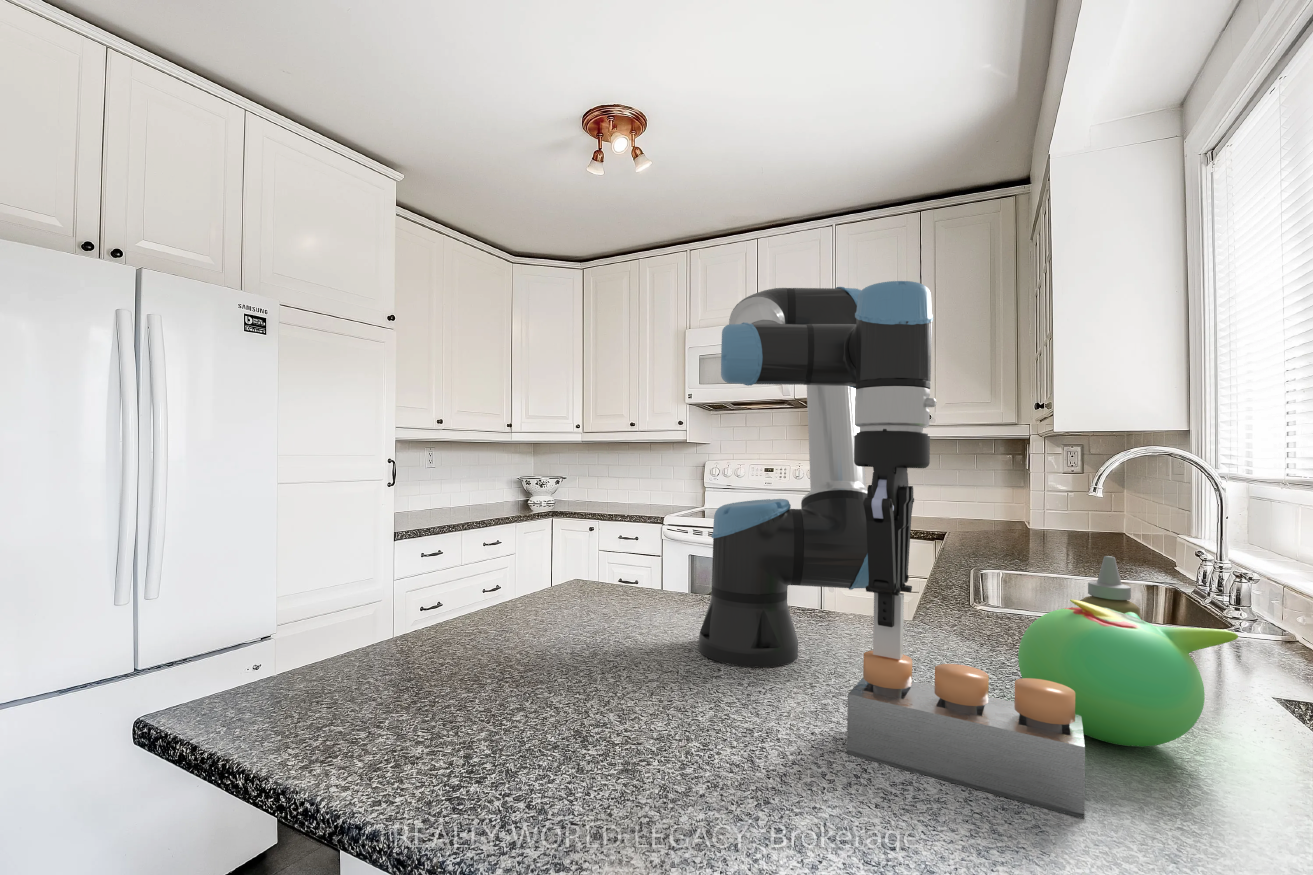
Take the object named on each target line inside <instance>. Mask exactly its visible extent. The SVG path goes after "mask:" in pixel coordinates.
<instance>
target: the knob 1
mask: <svg viewBox="0 0 1313 875" xmlns="http://www.w3.org/2000/svg"><path fill="white" fill-rule="evenodd" d="M862 662H863V667H862V668H863V672H862V673H863V674H862V678H864V680H865V681H867V682H868V683H870V684H873V693H877V694H882V695H886V696H891V697H895V698H900V699H901V690H902V689H904V688H908V687H910V686H912V682H913V659H912V658H911V657H910V656H908V655H906V654H904V653H903V657H902V658H901V659H894V658H889V657H884V656H878V655H873V649H872V650H868V651H865V652H864V653H863V661H862Z"/></svg>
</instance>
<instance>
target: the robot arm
mask: <svg viewBox="0 0 1313 875" xmlns="http://www.w3.org/2000/svg"><path fill="white" fill-rule="evenodd" d="M932 310H933V309H932V293H931V291H930V289H929V287H927V286H926V285H925V284H923V283H920V282H918V281H910V280H892V281H889V280H888V281H883V282H878V283H873V284H870V285H867V286H865V287H864V288H863V289H859V288H855V287H853V288H851V287H844V286H837V287H834V288H832V287H831V288H830V287H828V288H827V287H825V288H824V287H822V288H821V287H777V288H776V287H774V288H770V289H765V290H761V291H758V292H756V293H753V294H750V295H748V296H746V297H745V298H743V299H741V301H739V302H738V303H737V304H736V305H735V306H734V307H733V309H732V311H731V313H730V316H729V321H728V324H727V325H725V326H724V327H723V328H722V330H721V346H720V348H721V350H720V351H721V353H720V356H721V357H720V377H721V379H722V380H723V381H724V382H725V383H727V384H735V385H737V384H739V385H743V386H748V387H749V386H753V385H776V386H777V385H778V386H779V385H784V386H786V385H787V386H788V385H789V386H790V385H792V386H794V385H795V386H798V385H800V386H802V385H803V386H806V404H807V405H806V406H807V408H806V409H807V426H808V427H807V428H808V430H807V431H808V432H807V433H808V453H809V454H808V455H809V458H808V459H809V460H808V461H809V481H810V482H809V483H810V485H809V486H810V490H809V492H807V493H806V494H805V495H804V496H803V497H802V498H801V503H800V507H801V508H791V503H790V500H788V499H786V498H785V499H784V498H773V499H770V498H769V499H768V498H767V499H755V500H746V501H738V502H731V503H727V504H723V505H722V506H719V507H718V508H717V509H716V511H715V512H714V514H713V515H714V516H713V528H712V533H711V538H712V539H713V540H712V562H711V564H712V567H711V594H710V596H711V597H710V601H709V605H708V606H707V607H708V608H707V610H706V614H705V615H704V616H705V617H704V620H703V622H702V624H701V627H700V630H699V633H698V634H699V635H698V651H699V652H700V653H701V654H702V655H703V656H705V657H706V658H708V659H710V660H713V661H715V662H719V663H723V664H726V665H727V664H728V665H733V666H740V667H748V668H749V667H750V668H751V667H752V668H754V667H755V668H766V667H767V668H769V667H779V666H783V665H788V664H790V663H792V662H794V661H796V660H797V658H798V657H799V639H798V636H797V633H796V630H795V629H796V628H795V625H794V621H793V619H792V616H791V613H790V609H789V606H788V605H789V604H788V589H789V586H800V587H821V588H835V589H836V588H837V589H838V588H839V589H848V590H850V591H852V590H855V589H865V592H867V593H873V631H872V632H873V633H872V634H873V635H872V637H873V639H872V641H873V642H872V648H873V649H872V650H873V655H878V656H884V657H889V658H894V659H901V658H902V657H903V654H904V617H905V616H904V615H905V614H904V613H905V612H904V609H905V606H904V605H905V593H912V590H913V586H912V585H907V583H908V581H909V578H910V577H909V563H910V562H909V561H910V559H909V558H910V546H911V531H912V529H911V528H912V514H913V509H914V508H913V506H914V503H915V497H914V486H913V485H909V473H908V469H926V468H928V467H929V465H930V462H931V458H930V455H931V436H930V435H929V433H927V432H924V429H925V428H928V427H929V426H930V412H931V411H930V409H929V408H936V406H937V400H936V398H933V397H931V396H930V395H931V390H930V389H931V374H932V373H931V372H932V335H933V334H932V329H933V328H932V327H933V326H932V325H933V323H932V322H933V321H934V315H933V311H932ZM866 468H872V471H873V472H872V479H871V484H868V485H867V479H866V478H867V477H866ZM901 592H902V593H901Z"/></svg>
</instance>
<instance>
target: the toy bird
mask: <svg viewBox="0 0 1313 875" xmlns="http://www.w3.org/2000/svg"><path fill="white" fill-rule="evenodd" d="M1069 601H1070V602H1071V603H1072V604H1074V605H1075V606H1073V607H1065V608H1058V609H1056V610H1052V611H1050V612H1047V613H1045V614H1043V615H1042V616H1040V617H1038V618H1037V619H1036V620H1034V621H1033V622H1032V623H1031V624H1030V625H1029V626H1028V628H1027V629H1026V630H1025V632H1024V633H1023V636H1022V637H1021V639H1020V641H1019V642H1020V643H1019V646H1018V654H1017V657H1018V658H1017V659H1018V667H1019V672H1020V676H1021V679H1022V678H1033V679H1042V680H1047V681H1052V682H1056V683H1059V684H1062V685H1065V686H1067V687H1069V688H1071V689H1072V690H1074V691H1075V715H1080V716H1081V717H1082V726H1083V734H1084V735H1085V736H1087V737H1090V738H1092V739H1095V740H1099V741H1102V742H1106V743H1109V744H1113V745H1117V746H1118V745H1119V746H1128V747H1139V748H1140V747H1153V746H1158V745H1159V746H1160V745H1163V744H1166V743H1167V744H1168V743H1170V742H1173V741H1175V740H1177V739H1179V738H1181V737H1183V736H1184V735H1185V734H1187V733H1188V732H1190V730H1191V729H1192V728H1193V727H1194V725H1195V724H1196V723H1197V722H1198V720H1199V719H1200V716H1201V714H1202V712H1203V709H1204V705H1205V700H1206V699H1205V698H1206V697H1205V695H1206V694H1205V687H1204V682H1203V681H1204V680H1203V678H1202V675H1201V672H1200V671H1199V668H1198V666H1197V664H1196V662H1195V661H1194V660H1193V658H1192V656H1191V655H1190V653H1192V652H1196V651H1198V650H1204V649H1207V648H1210V647H1212V648H1213V647H1216V646H1220V645H1223V644H1227V643H1230V642H1233V641H1236V640H1237V639H1239V635H1238V634H1237V633H1236V632H1234V631H1231V630H1226V629H1219V628H1205V627H1178V626H1177V627H1176V626H1175V627H1174V626H1173V627H1171V626H1156V625H1153V624H1151V623H1150V622H1147V621H1145V620H1143V619H1142V618H1141V619H1140V618H1139V616H1138V615H1137V614H1135V613H1133V612H1127V613H1125V614H1124V613H1121V612H1117V611H1114V610H1112V609H1109V608H1104V607H1099V606H1096V605H1093V604H1089V603H1086V602H1083V601H1080V600H1078V599H1074V598H1073V599H1072V598H1071V599H1069Z"/></svg>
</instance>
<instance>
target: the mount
mask: <svg viewBox="0 0 1313 875" xmlns="http://www.w3.org/2000/svg"><path fill="white" fill-rule="evenodd" d="M934 691H935V685H933V684H932V685H931V684H926V683H923V682H922V683H921V682H917V681H912V686H910V687H908V688H904V689H902V690H901V699H900V698H895V697H891V696H886V695H882V694H877V693H873V684H870V683H868V682H867V681H865V680H864V678H863V677H862V678H861V679H860V680H859V681H858V682H857V683H856V685H854V686H853V688H852V689H851V690H850V691H849V692H848V693H847V712H846V713H847V714H846V715H847V716H846V717H847V722H846V725H847V726H846V755H850V756H854V757H858V758H861V759H864V760H868V761H872V762H875V763H879V764H884V765H887V766H891V767H893V768H898V769H901V770H904V771H908V772H912V773H916V774H919V775H923V776H926V777H930V778H934V779H937V780H941V781H945V782H949V783H952V784H955V785H959V786H963V787H967V788H971V789H973V790H977V791H980V792H981V791H982V792H985V793H989V794H992V795H996V796H1000V797H1003V798H1007V799H1009V800H1014V801H1017V802H1021V803H1025V804H1028V805H1032V806H1036V807H1039V808H1043V809H1046V810H1047V809H1048V810H1050V811H1055V812H1058V813H1061V814H1065V815H1068V816H1073V817H1076V818H1079V819H1083V820H1085V808H1086V807H1085V803H1086V802H1085V800H1086V799H1085V793H1086V790H1085V789H1086V788H1085V786H1086V785H1085V784H1086V783H1085V782H1086V781H1085V776H1086V775H1085V774H1086V761H1085V760H1086V745H1085V743H1086V742H1085V737H1084V734H1083V726H1082V717H1081V716H1080V715H1075V722H1073V723H1071V724H1062V734H1061V733H1056V732H1051V731H1047V730H1042V729H1038V728H1033V727H1028V726H1027V717H1025V716H1023V715H1021V714H1020V713H1018V712H1017V711H1016V710H1015V708H1014V704H1015V701H1010V700H1005V699H1000V698H995V697H990V696H988V703H987V704H986V705H982V706H977V715H973V714H969V713H964V712H960V711H955V710H950V709H946V708H945V700H943V699H941V698H939V697H938V696H937V695H936V694H935V692H934Z"/></svg>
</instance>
